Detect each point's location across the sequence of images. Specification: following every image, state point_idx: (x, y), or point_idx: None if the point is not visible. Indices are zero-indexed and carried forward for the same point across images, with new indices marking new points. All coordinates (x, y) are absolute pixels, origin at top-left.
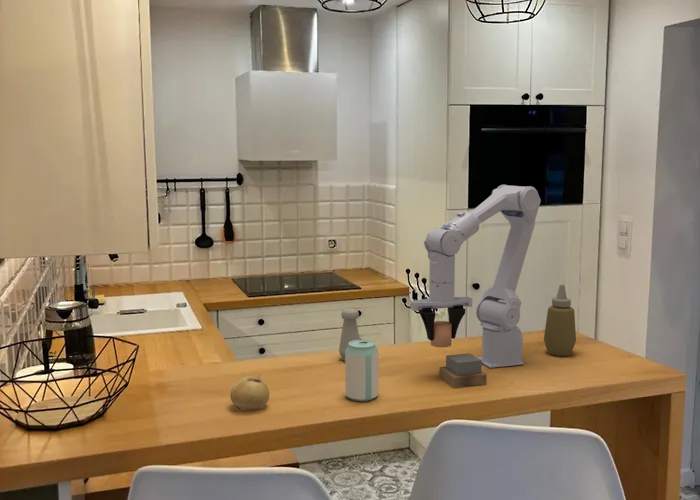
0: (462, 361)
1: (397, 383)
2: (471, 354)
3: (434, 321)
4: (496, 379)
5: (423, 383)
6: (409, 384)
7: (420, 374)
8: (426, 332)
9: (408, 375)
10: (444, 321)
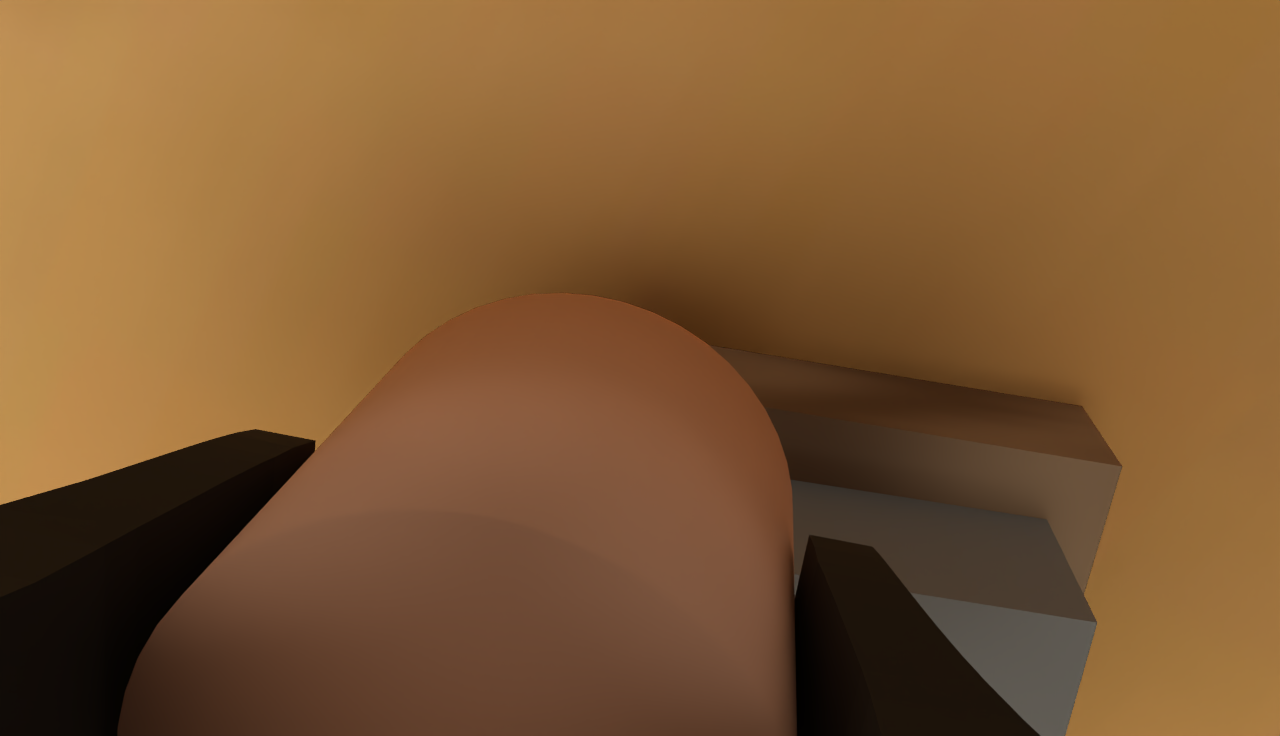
0: None
1: (8, 288)
2: (1067, 697)
3: (356, 529)
4: (1227, 713)
5: (311, 431)
6: (136, 385)
7: (428, 109)
8: (163, 459)
9: (252, 71)
10: (692, 679)
